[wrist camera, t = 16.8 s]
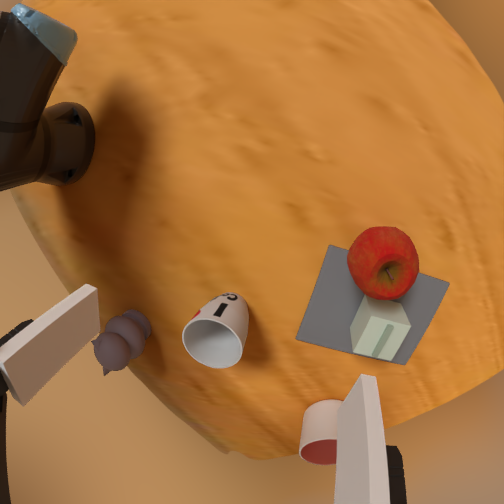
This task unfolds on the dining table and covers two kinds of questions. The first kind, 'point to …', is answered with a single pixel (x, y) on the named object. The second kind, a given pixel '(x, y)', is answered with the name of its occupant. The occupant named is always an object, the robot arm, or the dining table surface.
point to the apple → (383, 263)
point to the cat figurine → (121, 340)
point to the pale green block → (379, 328)
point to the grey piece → (348, 302)
